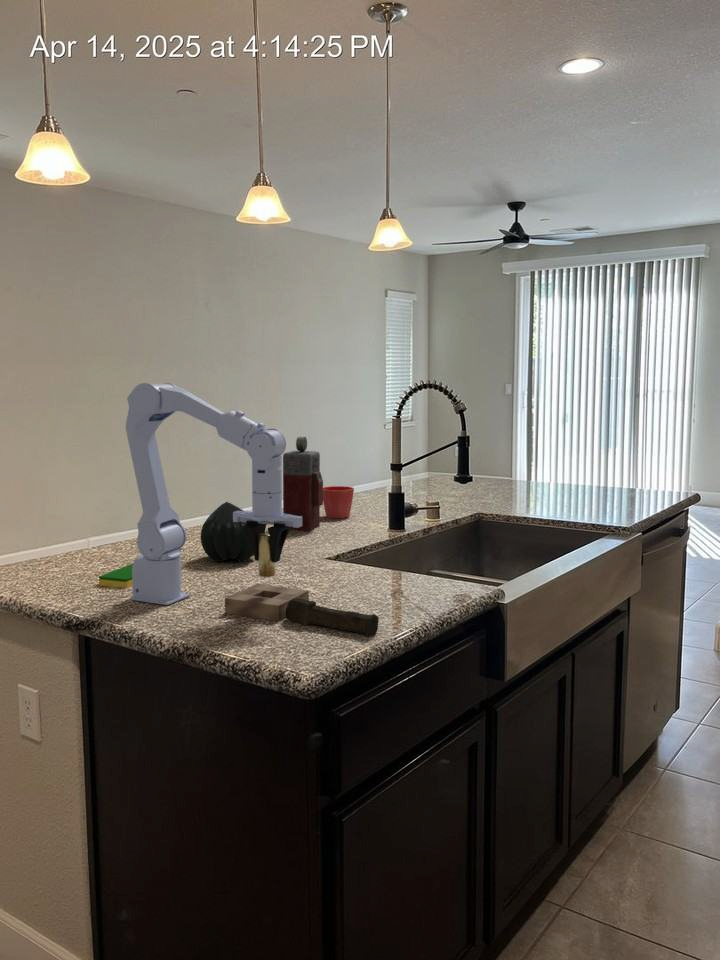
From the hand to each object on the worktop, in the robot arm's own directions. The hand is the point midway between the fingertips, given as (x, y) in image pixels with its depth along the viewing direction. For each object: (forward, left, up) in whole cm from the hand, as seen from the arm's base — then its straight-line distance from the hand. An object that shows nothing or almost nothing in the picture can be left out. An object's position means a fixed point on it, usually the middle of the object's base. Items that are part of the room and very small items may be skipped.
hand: (267, 560), depth 155 cm
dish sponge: (-40, +7, -10) cm, 42 cm away
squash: (-31, +34, -10) cm, 47 cm away
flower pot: (-34, +103, -10) cm, 109 cm away
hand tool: (+16, -6, -10) cm, 20 cm away
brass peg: (0, 0, -3) cm, 3 cm away
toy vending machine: (-34, +80, -10) cm, 88 cm away
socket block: (0, 0, -10) cm, 10 cm away
